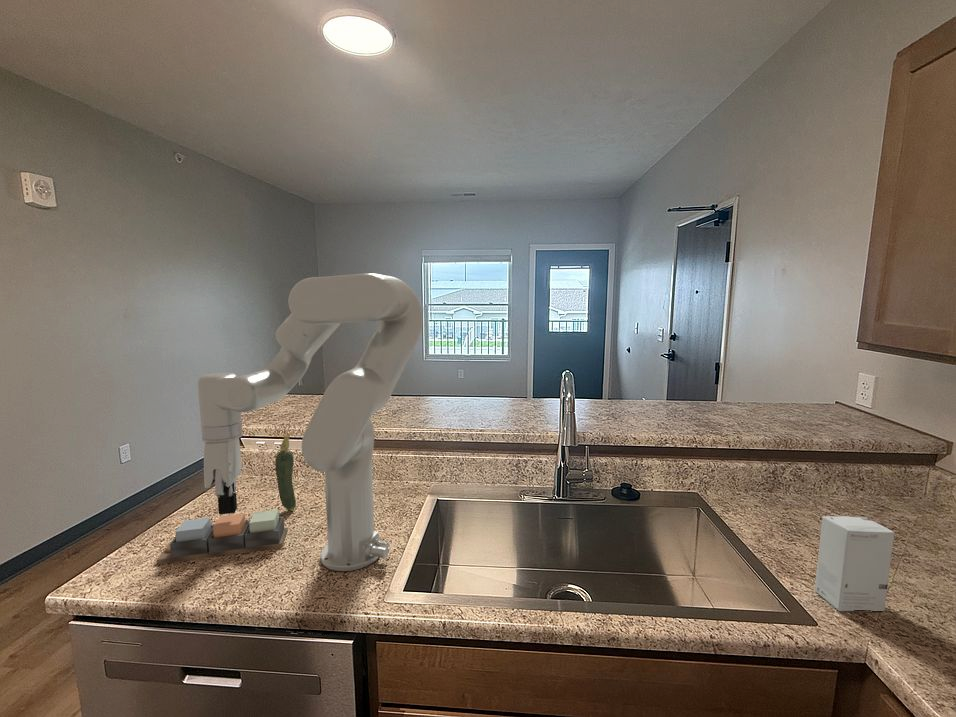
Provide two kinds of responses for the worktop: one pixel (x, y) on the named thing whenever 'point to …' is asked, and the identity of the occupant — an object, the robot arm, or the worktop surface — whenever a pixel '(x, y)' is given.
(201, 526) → the slate key
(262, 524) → the sage key
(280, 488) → the vegetable
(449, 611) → the worktop surface
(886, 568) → the skincare box
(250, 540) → the gray compartment tray
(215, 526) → the terracotta key
